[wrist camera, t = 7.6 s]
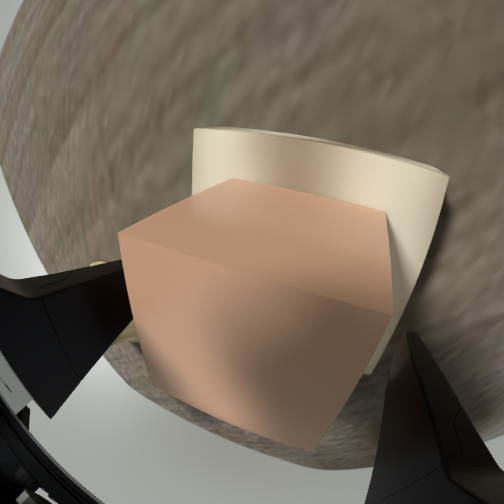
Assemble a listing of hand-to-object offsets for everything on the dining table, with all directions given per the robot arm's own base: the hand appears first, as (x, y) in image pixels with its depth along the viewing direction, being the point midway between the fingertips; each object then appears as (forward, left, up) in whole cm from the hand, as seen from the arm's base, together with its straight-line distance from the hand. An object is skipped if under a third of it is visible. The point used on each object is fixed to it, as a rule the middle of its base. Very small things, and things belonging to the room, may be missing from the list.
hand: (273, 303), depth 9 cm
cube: (0, 0, -3) cm, 3 cm away
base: (0, 0, -6) cm, 6 cm away
